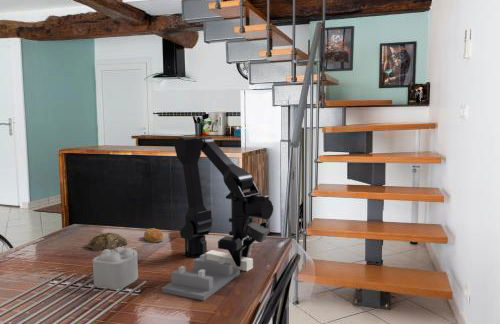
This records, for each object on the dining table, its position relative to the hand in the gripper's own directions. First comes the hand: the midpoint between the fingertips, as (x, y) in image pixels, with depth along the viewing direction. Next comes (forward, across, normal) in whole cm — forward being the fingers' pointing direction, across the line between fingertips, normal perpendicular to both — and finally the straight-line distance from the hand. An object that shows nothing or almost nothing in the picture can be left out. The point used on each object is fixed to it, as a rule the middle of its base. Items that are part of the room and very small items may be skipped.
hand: (241, 264), depth 132 cm
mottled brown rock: (+2, 0, +55) cm, 55 cm away
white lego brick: (+1, -23, +28) cm, 36 cm away
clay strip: (+1, +1, +5) cm, 5 cm away
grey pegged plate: (+1, -15, +4) cm, 16 cm away
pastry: (+2, +14, +44) cm, 46 cm away
